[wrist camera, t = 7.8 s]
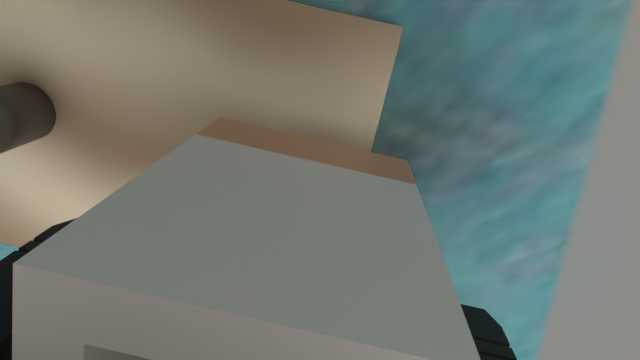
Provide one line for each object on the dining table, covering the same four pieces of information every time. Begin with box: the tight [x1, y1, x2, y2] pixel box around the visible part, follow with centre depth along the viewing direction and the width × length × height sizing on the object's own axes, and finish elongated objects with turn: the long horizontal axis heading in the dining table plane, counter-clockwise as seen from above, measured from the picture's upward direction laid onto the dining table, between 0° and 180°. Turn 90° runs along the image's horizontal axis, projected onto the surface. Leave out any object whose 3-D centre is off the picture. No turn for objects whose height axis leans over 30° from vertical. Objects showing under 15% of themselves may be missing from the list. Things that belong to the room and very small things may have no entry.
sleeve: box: [12, 117, 481, 360], centre depth 10 cm, size 5×5×8 cm
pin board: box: [0, 0, 404, 247], centre depth 16 cm, size 11×14×6 cm
